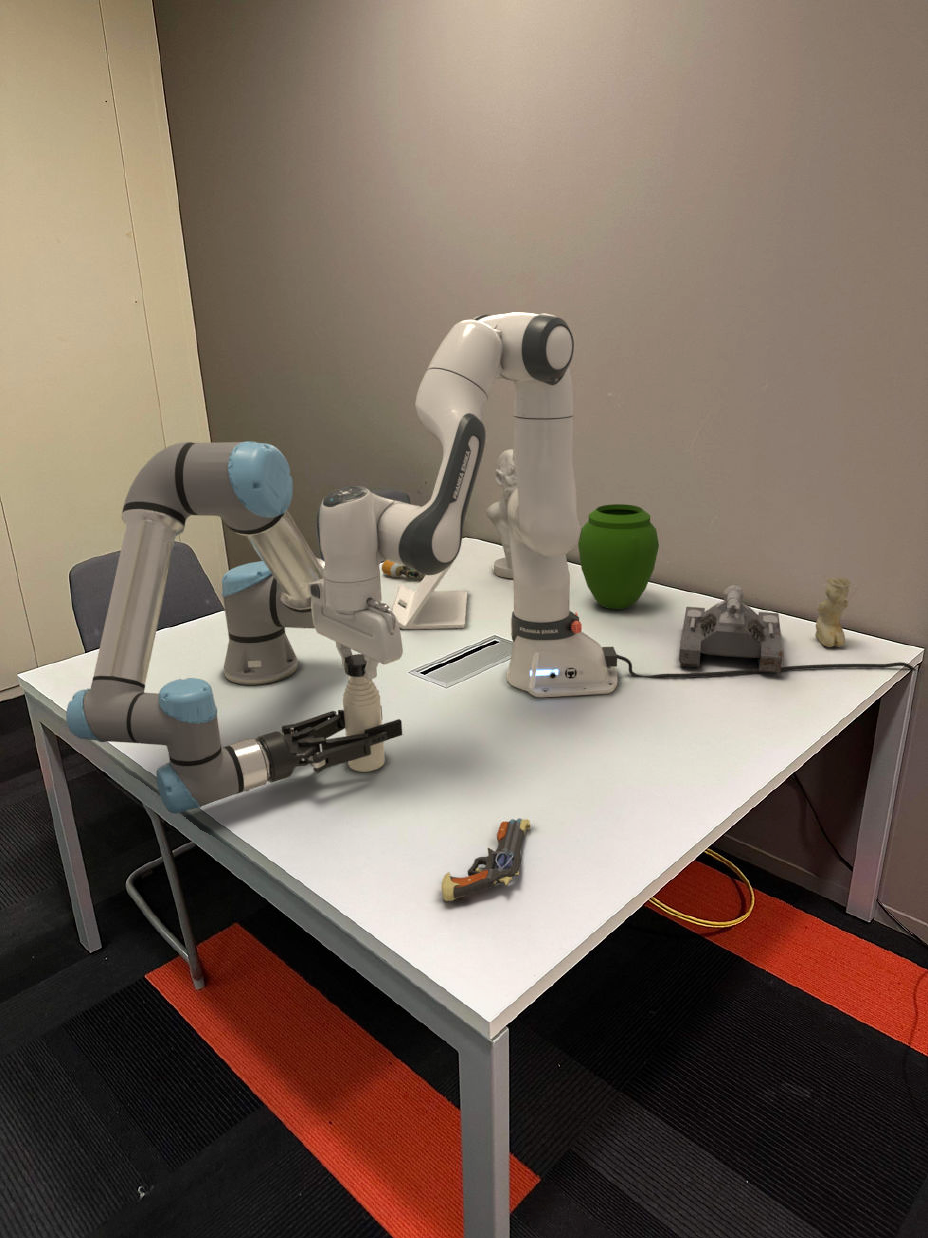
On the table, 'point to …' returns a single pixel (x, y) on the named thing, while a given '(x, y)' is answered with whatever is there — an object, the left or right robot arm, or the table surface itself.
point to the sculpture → (832, 613)
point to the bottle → (363, 719)
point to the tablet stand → (430, 605)
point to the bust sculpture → (503, 510)
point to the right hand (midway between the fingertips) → (359, 672)
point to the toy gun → (491, 863)
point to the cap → (355, 665)
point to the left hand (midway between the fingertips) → (390, 719)
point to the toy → (732, 633)
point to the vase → (618, 554)
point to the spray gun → (399, 570)
